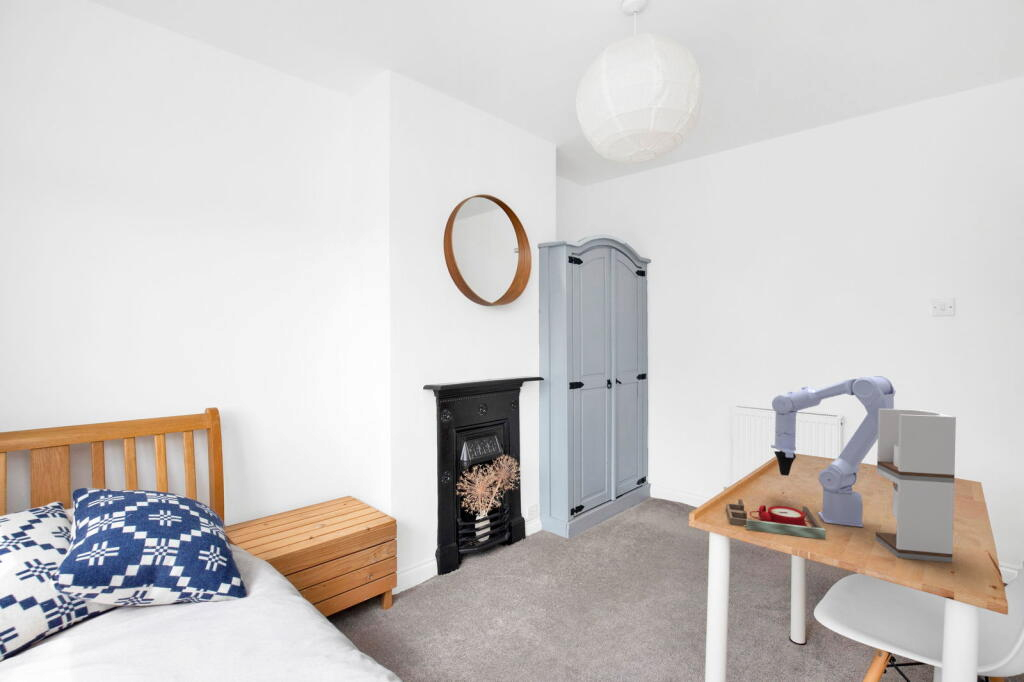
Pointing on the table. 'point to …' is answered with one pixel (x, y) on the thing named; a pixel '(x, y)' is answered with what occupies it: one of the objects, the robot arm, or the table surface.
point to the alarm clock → (782, 515)
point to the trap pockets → (735, 514)
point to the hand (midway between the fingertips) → (784, 474)
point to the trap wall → (786, 526)
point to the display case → (918, 481)
